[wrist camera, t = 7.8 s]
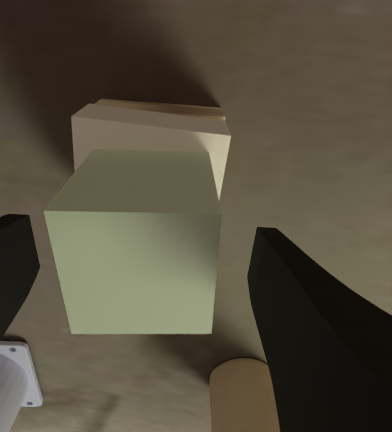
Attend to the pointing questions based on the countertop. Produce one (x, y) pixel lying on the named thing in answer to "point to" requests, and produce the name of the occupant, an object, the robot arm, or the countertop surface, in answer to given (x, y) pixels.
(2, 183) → the countertop surface
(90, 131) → the tower top
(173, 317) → the sage block
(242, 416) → the candle
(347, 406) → the robot arm
